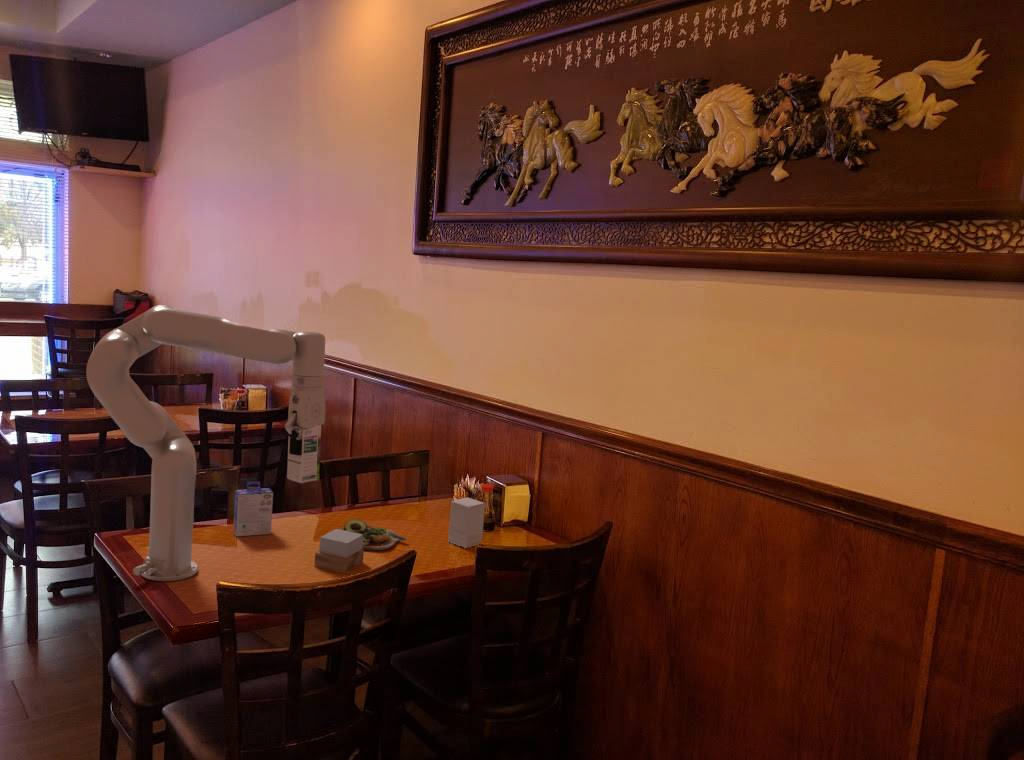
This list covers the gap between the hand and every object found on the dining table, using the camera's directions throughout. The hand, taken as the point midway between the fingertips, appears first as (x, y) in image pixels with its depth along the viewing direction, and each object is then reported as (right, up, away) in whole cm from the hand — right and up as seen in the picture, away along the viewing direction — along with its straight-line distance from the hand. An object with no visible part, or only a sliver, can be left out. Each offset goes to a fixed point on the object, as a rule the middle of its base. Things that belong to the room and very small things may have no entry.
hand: (304, 451), depth 198 cm
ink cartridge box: (-21, -25, +25) cm, 41 cm away
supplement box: (+38, -30, +33) cm, 59 cm away
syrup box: (-1, -7, +1) cm, 8 cm away
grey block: (+8, -27, +7) cm, 29 cm away
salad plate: (+10, -28, +28) cm, 41 cm away
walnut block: (+7, -31, +7) cm, 32 cm away
